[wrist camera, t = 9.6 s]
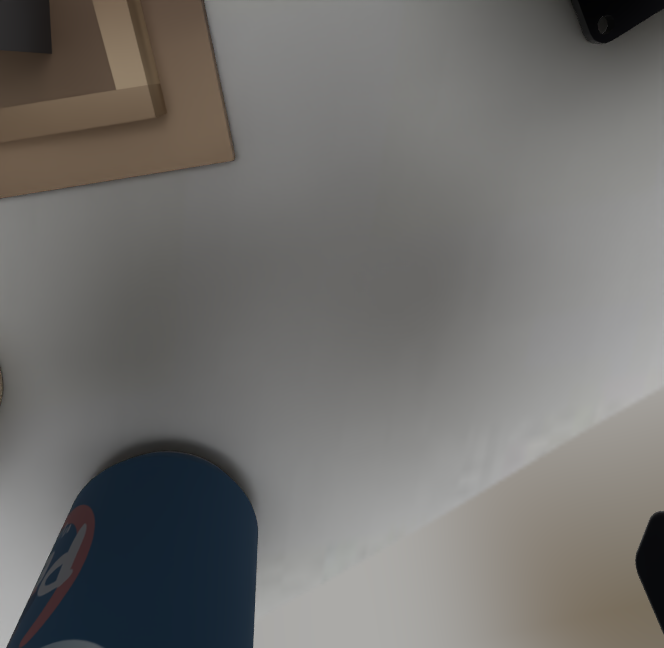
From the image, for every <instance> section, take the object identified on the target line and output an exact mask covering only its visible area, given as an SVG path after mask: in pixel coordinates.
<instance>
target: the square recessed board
mask: <svg viewBox="0 0 664 648" xmlns="http://www.w3.org/2000/svg"><path fill="white" fill-rule="evenodd" d="M49 5H50V23H51V41H52V54H47V53H33V52H19V51H4V50H0V198H6V197H12V196H18V195H24V194H30V193H37V192H43V191H49V190H55V189H61V188H67V187H74V186H80V185H86V184H92V183H98V182H105V181H111V180H117V179H123V178H129V177H136V176H142V175H148V174H154V173H160V172H166V171H173V170H179V169H185V168H191V167H197V166H204V165H210V164H216V163H222V162H228V161H234V159H235V152H234V147H233V142H232V137H231V132H230V128H229V123H228V118H227V113H226V108H225V103H224V98H223V93H222V88H221V83H220V79H219V74H218V69H217V64H216V59H215V54H214V49H213V44H212V39H211V35H210V30H209V25H208V20H207V15H206V10H205V5H204V0H49Z"/></svg>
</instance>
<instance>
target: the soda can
mask: <svg viewBox="0 0 664 648" xmlns="http://www.w3.org/2000/svg"><path fill="white" fill-rule="evenodd" d="M257 544H258V526H257V520H256V516H255V513H254V510H253V508H252V505H251V503H250V501H249V499H248V498H247V496H246V495H245V493H244V492H243V491H242V489H241V488H240V487H239V486H238V485H237V484H236V483H235V482H234V481H233V480H232V479H231V478H230V477H229V476H228V475H227V474H226V473H225V472H223V471H222V470H221V469H220V468H218V467H217V466H216V465H214V464H213V463H211V462H209V461H207V460H205V459H203V458H201V457H198V456H195V455H192V454H188V453H183V452H176V451H159V452H152V453H147V454H143V455H140V456H136V457H133V458H130V459H128V460H125V461H122V462H120V463H118V464H115V465H113V466H111V467H110V468H108V469H106V470H104V471H103V472H101V473H100V474H98V475H97V476H96V477H94V478H93V479H92V480H91V481H90V482H89V483H88V484H87V485H86V486H85V487H84V488H83V489H82V491H81V492H80V493H79V495H78V496H77V498H76V499H75V501H74V503H73V505H72V508H71V510H70V512H69V514H68V516H67V518H66V520H65V523H64V525H63V527H62V529H61V531H60V533H59V536H58V538H57V540H56V542H55V544H54V546H53V548H52V551H51V553H50V555H49V557H48V559H47V561H46V563H45V566H44V568H43V570H42V572H41V574H40V576H39V579H38V581H37V583H36V585H35V587H34V589H33V591H32V594H31V596H30V598H29V600H28V602H27V604H26V606H25V609H24V611H23V613H22V615H21V617H20V619H19V622H18V624H17V626H16V628H15V630H14V632H13V634H12V637H11V639H10V641H9V643H8V645H7V647H6V648H253V636H254V614H255V591H256V568H257Z"/></svg>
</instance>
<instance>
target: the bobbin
mask: <svg viewBox="0 0 664 648" xmlns="http://www.w3.org/2000/svg"><path fill="white" fill-rule="evenodd" d="M2 393H3V383H2V375H1V369H0V404H1V400H2Z"/></svg>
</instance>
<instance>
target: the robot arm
mask: <svg viewBox="0 0 664 648" xmlns="http://www.w3.org/2000/svg"><path fill="white" fill-rule="evenodd" d="M571 2H572V5H573V7H574V10H575V13H576V15H577V18H578V20H579V23H580V26H581V28H582V31H583V34H584V36H585V37H586V39H587V40H588V41H589V42H591V43H595V44H602V43H607V42H610V41H612V40H614V39H615V38H617V37H619V36H620V35H622V34H623V33H625V32H627V31H628V30H630V29H631V28H633V27H635V26H636V25H638V24H639V23H641V22H643V21H644V20H646V19H647V18H649V17H651V16H652V15H654V14H655V13H657V12H659V11H660V10H662V9H664V0H571ZM602 16H603V17H605V18H606V19H607V23H608V26H607V28H606V31H605V32H604V33H603V34H602V33H600V32H599V30H598V22H599V19H600V18H601V17H602ZM635 561H636V569H637V573H638V576H639V578H640V580H641V583H642V584H643V587H644V590H645V592H646V594H647V596H648V599H649V601H650V604H651V606H652V608H653V610H654V613H655V615H656V618H657V620H658V622H659V624H660V627H661V629H662V631H663V634H664V511H659V512H656V513H654V514H653V515H652V516H651V518H650V520H649V522H648V525H647V527H646V530H645V532H644V535H643V538H642V540H641V543H640V546H639V548H638V550H637V553H636V559H635Z"/></svg>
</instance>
